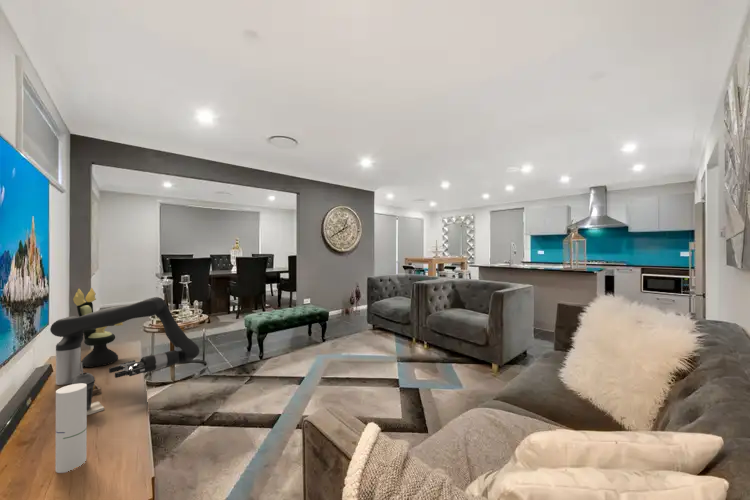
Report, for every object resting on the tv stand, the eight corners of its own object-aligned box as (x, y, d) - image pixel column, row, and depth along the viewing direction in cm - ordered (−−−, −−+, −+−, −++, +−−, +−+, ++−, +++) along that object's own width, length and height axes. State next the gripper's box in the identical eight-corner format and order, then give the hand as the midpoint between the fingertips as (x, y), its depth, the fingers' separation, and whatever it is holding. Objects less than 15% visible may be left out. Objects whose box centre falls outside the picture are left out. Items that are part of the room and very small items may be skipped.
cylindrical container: (69, 457, 103) (69, 383, 103) (92, 456, 104) (92, 383, 104) (48, 473, 96) (49, 393, 96) (73, 472, 97) (73, 393, 97)
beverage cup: (80, 415, 127) (80, 367, 127) (66, 413, 128) (66, 365, 128) (99, 406, 134) (99, 360, 134) (85, 404, 136) (86, 359, 135)
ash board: (60, 414, 129) (60, 412, 129) (98, 403, 139) (98, 401, 139) (65, 422, 124) (65, 419, 124) (104, 409, 133) (104, 407, 133)
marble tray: (70, 394, 146) (70, 387, 146) (95, 387, 154) (95, 380, 153) (75, 400, 141) (75, 392, 141) (101, 393, 148) (101, 385, 148)
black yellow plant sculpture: (107, 368, 178) (107, 289, 177) (60, 370, 173) (61, 290, 172) (125, 356, 196) (126, 285, 196) (84, 358, 191) (85, 286, 191)
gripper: (148, 351, 156) (107, 361, 143) (159, 357, 148) (117, 368, 135) (148, 366, 156) (107, 377, 143) (159, 373, 148) (116, 385, 135)
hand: (112, 373), depth 139 cm, fingers open, 8 cm apart
